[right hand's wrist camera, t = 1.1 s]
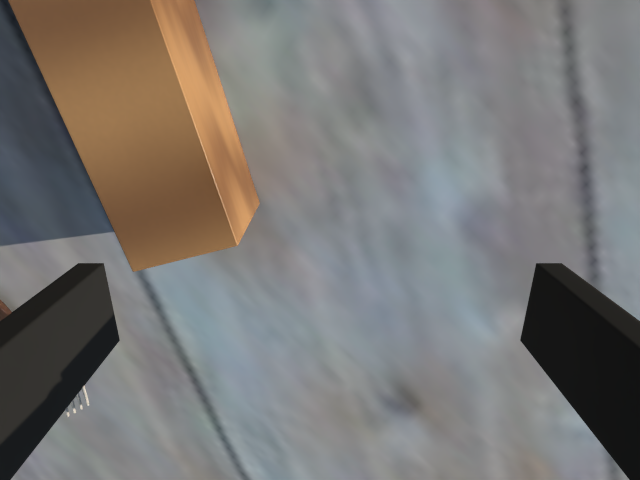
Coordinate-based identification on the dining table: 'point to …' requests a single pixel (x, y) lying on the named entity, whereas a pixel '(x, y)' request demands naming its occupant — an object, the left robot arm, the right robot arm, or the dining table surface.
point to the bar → (146, 121)
